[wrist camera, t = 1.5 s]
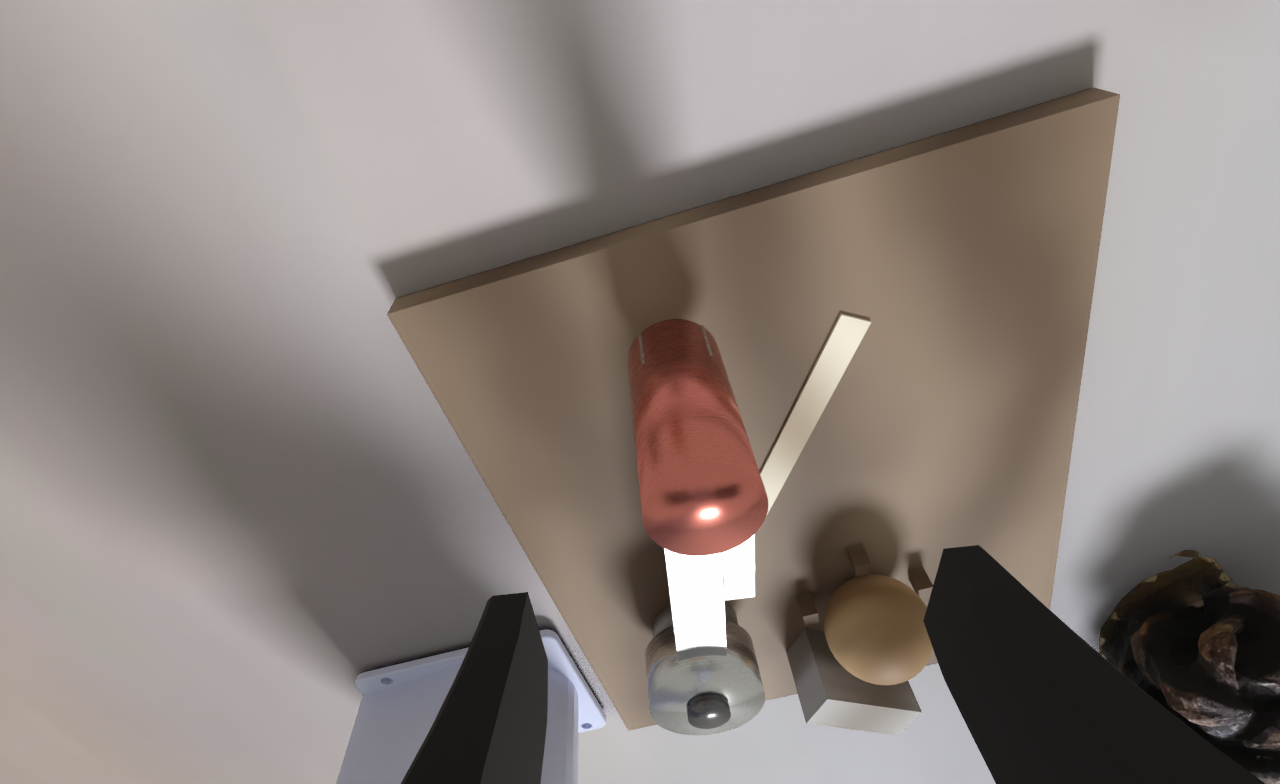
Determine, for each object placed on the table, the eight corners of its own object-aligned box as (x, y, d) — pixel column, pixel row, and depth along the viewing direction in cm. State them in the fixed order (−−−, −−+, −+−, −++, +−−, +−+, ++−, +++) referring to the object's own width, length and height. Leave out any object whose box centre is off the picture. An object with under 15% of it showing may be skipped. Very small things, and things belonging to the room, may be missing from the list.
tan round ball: (817, 625, 28) (848, 716, 24) (805, 566, 25) (837, 657, 22) (910, 604, 27) (954, 693, 24) (906, 542, 25) (954, 631, 22)
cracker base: (627, 710, 32) (632, 801, 29) (395, 298, 19) (352, 375, 16) (1033, 620, 30) (1090, 706, 27) (1093, 87, 17) (1224, 121, 13)
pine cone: (1230, 510, 27) (1513, 756, 19) (1312, 674, 35) (1535, 896, 27) (1000, 624, 30) (1152, 873, 22) (1123, 749, 39) (1268, 966, 30)
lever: (753, 676, 27) (789, 836, 22) (650, 688, 27) (663, 851, 22) (750, 309, 17) (815, 451, 12) (589, 329, 17) (589, 478, 12)
